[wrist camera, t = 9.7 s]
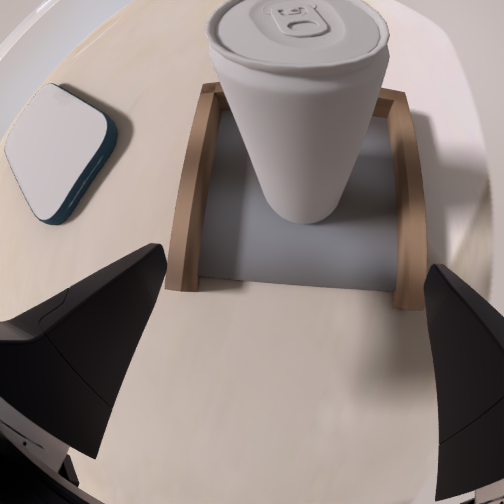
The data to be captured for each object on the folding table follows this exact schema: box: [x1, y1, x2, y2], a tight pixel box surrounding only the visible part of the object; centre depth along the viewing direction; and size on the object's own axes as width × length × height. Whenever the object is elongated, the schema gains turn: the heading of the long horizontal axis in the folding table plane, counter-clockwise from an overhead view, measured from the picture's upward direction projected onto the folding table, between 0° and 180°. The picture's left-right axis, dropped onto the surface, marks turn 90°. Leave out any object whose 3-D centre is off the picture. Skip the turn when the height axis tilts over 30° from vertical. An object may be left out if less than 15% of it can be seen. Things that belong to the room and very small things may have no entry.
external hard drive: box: [5, 83, 117, 225], centre depth 22 cm, size 24×12×2 cm, turn 53°
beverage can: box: [205, 0, 390, 224], centre depth 10 cm, size 5×5×12 cm
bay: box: [165, 82, 427, 310], centre depth 15 cm, size 14×14×2 cm
